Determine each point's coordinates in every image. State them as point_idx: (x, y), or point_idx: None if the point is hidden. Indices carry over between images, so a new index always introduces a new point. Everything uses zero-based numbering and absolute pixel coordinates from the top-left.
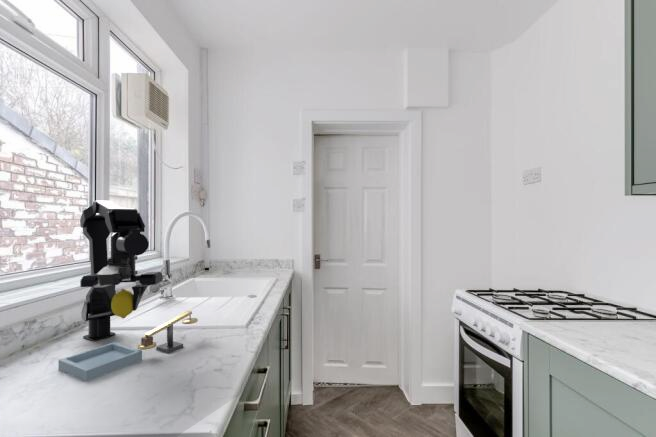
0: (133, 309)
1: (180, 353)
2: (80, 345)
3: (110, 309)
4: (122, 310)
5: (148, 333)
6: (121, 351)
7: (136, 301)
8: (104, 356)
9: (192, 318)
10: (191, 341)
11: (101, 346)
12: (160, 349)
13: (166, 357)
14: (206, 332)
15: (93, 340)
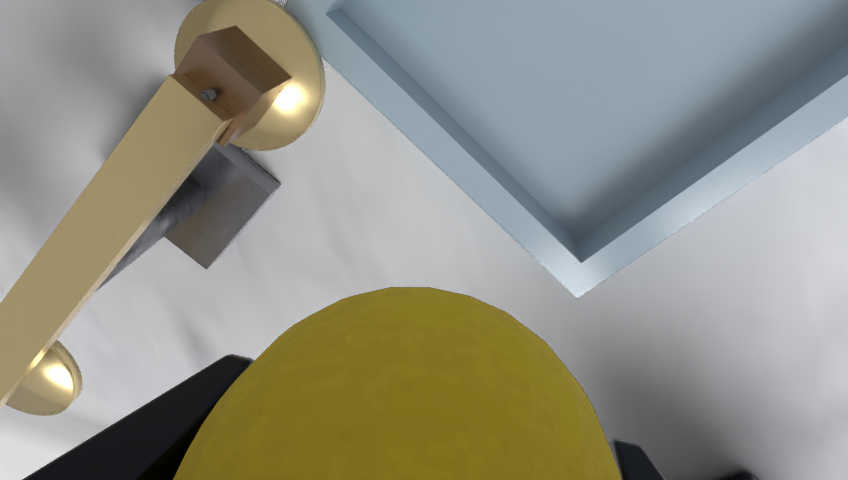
0: (235, 364)
1: (87, 67)
2: (824, 436)
3: (635, 467)
4: (363, 301)
5: (182, 109)
6: (489, 158)
7: (60, 461)
8: (603, 105)
9: (19, 401)
10: None
11: (658, 236)
12: (236, 156)
13: (151, 14)
14: (97, 376)
15: (749, 476)
